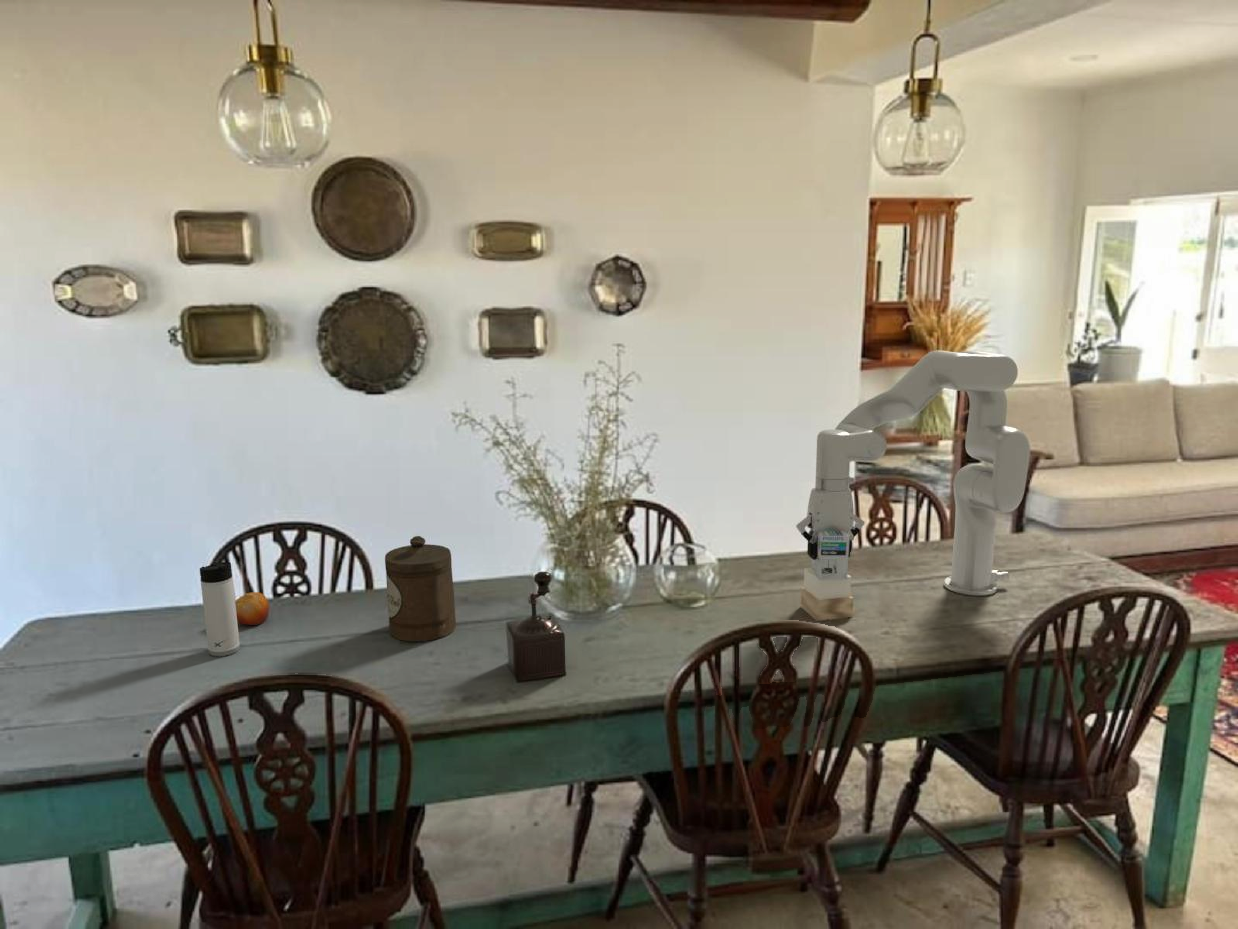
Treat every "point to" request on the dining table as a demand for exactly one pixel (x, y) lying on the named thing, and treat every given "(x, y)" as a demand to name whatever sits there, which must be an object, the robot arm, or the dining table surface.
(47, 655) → the dining table surface
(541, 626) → the manual coffee grinder
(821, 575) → the light bulb box
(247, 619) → the fruit
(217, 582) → the travel mug
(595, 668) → the dining table surface
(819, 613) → the tower base
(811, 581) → the tower top
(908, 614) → the dining table surface
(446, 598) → the wooden container
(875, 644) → the dining table surface
